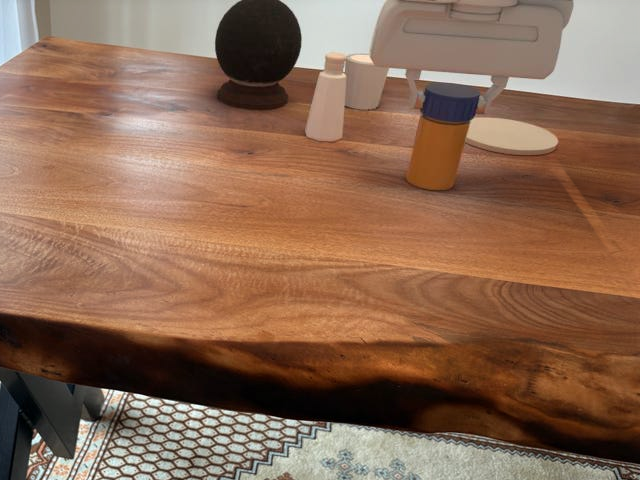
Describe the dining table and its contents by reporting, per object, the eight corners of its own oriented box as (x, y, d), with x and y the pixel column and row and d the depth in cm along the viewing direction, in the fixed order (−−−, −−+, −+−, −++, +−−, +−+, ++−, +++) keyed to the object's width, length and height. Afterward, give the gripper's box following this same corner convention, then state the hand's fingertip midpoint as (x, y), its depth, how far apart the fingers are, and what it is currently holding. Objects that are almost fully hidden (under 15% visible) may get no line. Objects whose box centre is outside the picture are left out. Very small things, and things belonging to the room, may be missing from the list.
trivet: (543, 127, 116) (544, 121, 115) (568, 159, 104) (570, 154, 104) (447, 119, 117) (448, 113, 117) (462, 150, 106) (463, 144, 105)
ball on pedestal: (287, 88, 128) (299, -11, 119) (300, 112, 117) (314, 6, 108) (208, 85, 127) (215, -14, 119) (213, 110, 117) (221, 3, 108)
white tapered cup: (355, 112, 118) (363, 65, 114) (329, 99, 123) (336, 54, 119) (391, 108, 121) (400, 62, 117) (364, 96, 126) (372, 51, 122)
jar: (450, 175, 98) (472, 91, 92) (456, 192, 93) (480, 105, 87) (403, 170, 99) (422, 87, 93) (408, 188, 94) (428, 101, 88)
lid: (417, 103, 94) (423, 80, 93) (470, 108, 93) (477, 85, 92) (421, 119, 89) (427, 94, 88) (477, 124, 88) (484, 100, 87)
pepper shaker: (349, 140, 108) (364, 58, 101) (315, 143, 106) (328, 60, 100) (330, 128, 112) (343, 48, 105) (297, 131, 110) (308, 50, 104)
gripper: (570, -17, 85) (531, 110, 93) (382, -29, 87) (359, 96, 95) (588, -6, 79) (544, 126, 87) (387, -19, 82) (362, 111, 90)
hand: (446, 110), depth 91 cm, fingers closed on lid, 6 cm apart
